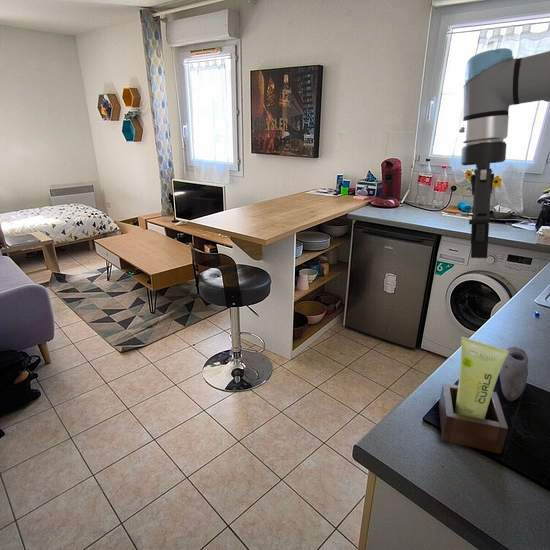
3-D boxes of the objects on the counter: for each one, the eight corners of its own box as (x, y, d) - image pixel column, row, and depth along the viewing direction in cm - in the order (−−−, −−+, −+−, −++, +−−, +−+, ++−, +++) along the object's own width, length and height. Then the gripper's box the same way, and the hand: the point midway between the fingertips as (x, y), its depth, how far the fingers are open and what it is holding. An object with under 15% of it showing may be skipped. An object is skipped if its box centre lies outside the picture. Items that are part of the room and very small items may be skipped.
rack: (490, 415, 74) (496, 392, 72) (501, 454, 66) (508, 428, 63) (438, 405, 77) (442, 382, 75) (442, 440, 69) (447, 416, 66)
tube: (456, 437, 69) (475, 351, 62) (445, 417, 74) (461, 335, 66) (486, 437, 69) (509, 351, 61) (473, 417, 74) (492, 335, 66)
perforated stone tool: (521, 412, 75) (529, 385, 72) (492, 402, 77) (498, 375, 75) (525, 373, 86) (532, 348, 83) (499, 366, 89) (505, 341, 86)
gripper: (463, 147, 82) (459, 239, 88) (460, 142, 61) (456, 264, 67) (501, 143, 79) (495, 239, 84) (513, 136, 58) (504, 265, 63)
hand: (478, 250), depth 75 cm, fingers open, 13 cm apart
